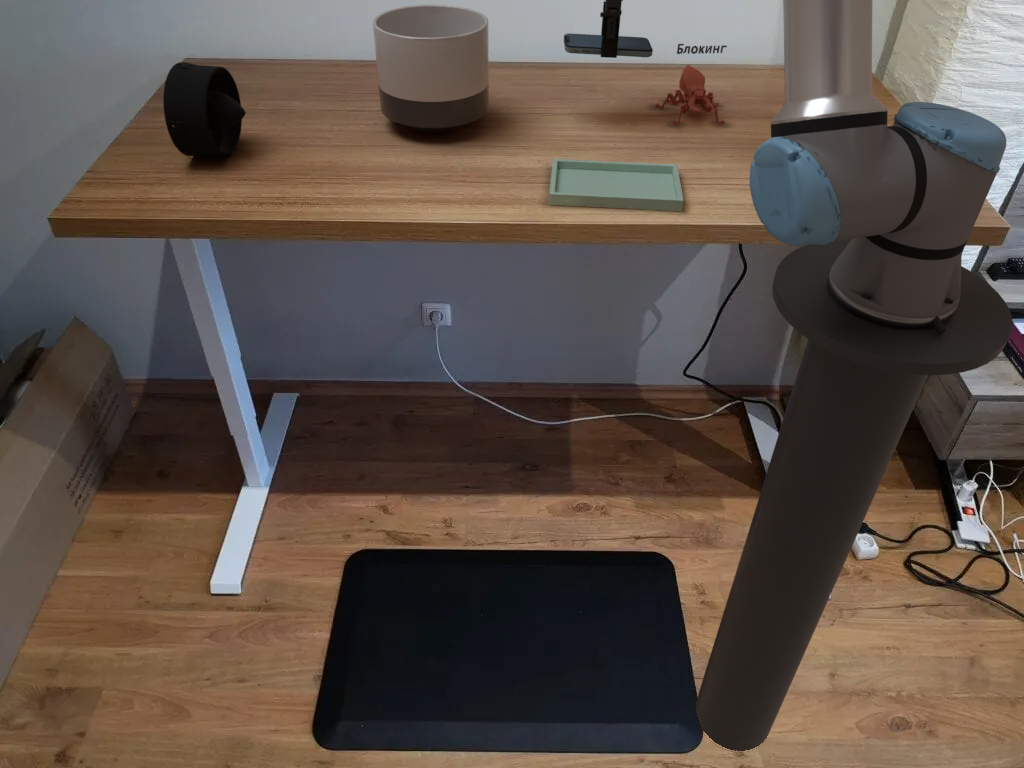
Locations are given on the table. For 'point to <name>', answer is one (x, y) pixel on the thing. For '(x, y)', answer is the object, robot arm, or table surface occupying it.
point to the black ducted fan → (202, 110)
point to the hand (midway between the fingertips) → (608, 48)
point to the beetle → (693, 88)
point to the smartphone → (594, 42)
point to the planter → (432, 66)
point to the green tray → (615, 185)
